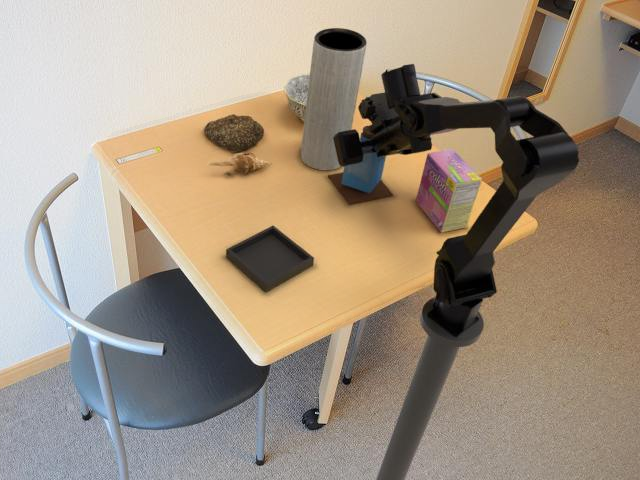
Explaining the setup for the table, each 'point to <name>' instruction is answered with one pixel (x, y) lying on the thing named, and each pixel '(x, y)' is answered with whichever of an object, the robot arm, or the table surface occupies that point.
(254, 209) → the table surface
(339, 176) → the mat
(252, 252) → the tray
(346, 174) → the perfume bottle
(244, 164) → the spiral seashell
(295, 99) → the bowl
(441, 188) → the box
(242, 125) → the bread roll
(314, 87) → the planter
